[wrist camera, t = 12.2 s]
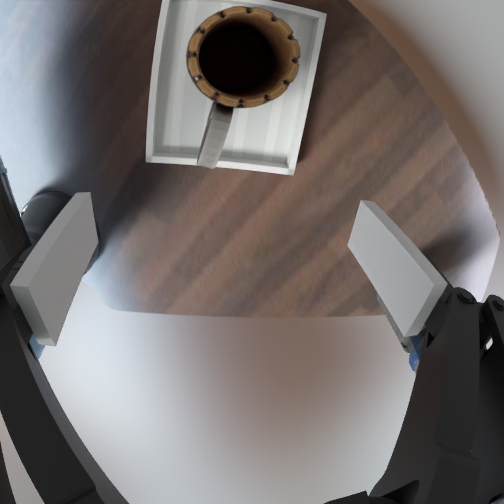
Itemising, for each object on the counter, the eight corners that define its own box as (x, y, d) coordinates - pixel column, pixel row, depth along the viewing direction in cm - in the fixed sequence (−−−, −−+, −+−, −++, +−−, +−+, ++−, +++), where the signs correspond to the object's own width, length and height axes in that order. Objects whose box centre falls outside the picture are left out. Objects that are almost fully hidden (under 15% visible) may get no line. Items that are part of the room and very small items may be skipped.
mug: (206, 10, 26) (199, -24, 14) (290, 36, 29) (336, 22, 17) (166, 126, 34) (139, 164, 22) (247, 148, 37) (265, 196, 25)
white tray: (150, 155, 37) (145, 162, 35) (168, -4, 25) (164, -9, 23) (288, 167, 40) (293, 175, 38) (318, 16, 28) (326, 13, 26)
